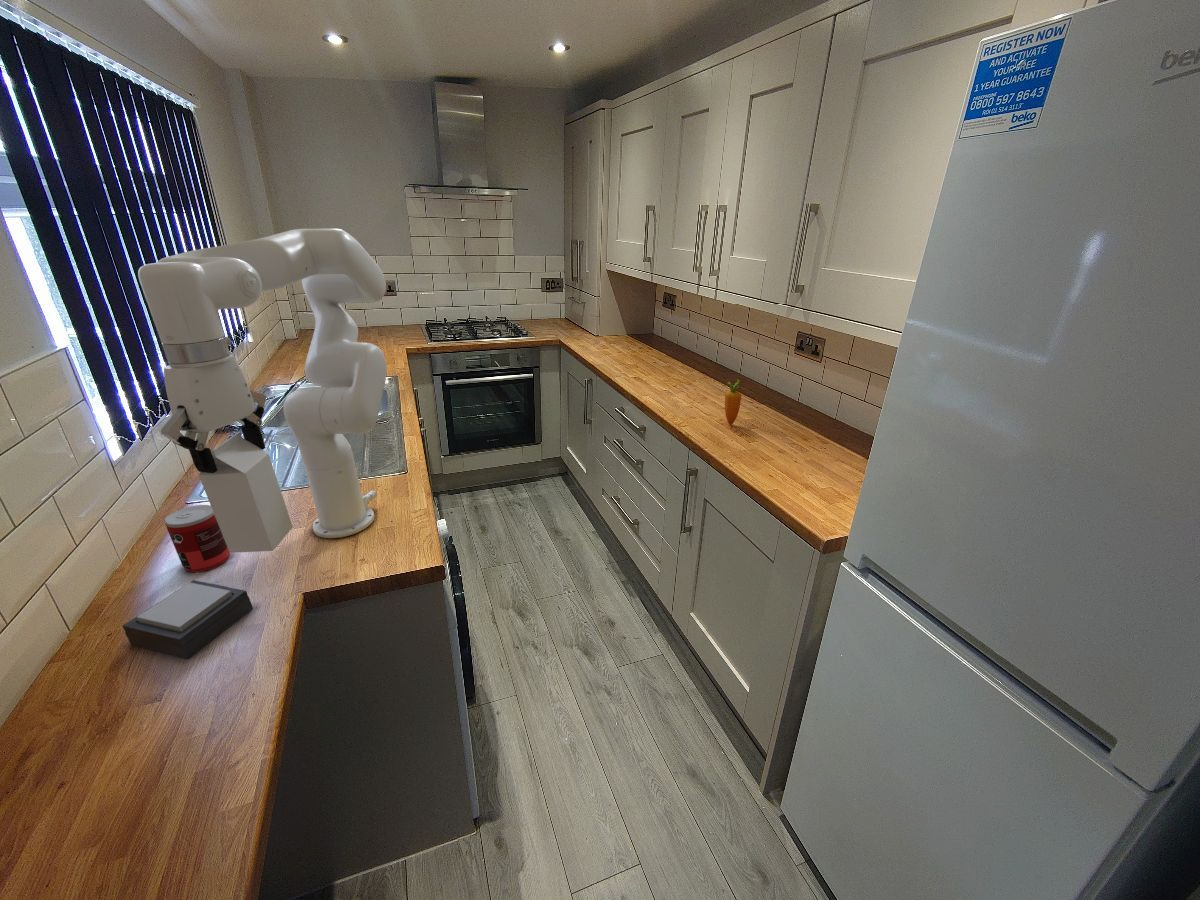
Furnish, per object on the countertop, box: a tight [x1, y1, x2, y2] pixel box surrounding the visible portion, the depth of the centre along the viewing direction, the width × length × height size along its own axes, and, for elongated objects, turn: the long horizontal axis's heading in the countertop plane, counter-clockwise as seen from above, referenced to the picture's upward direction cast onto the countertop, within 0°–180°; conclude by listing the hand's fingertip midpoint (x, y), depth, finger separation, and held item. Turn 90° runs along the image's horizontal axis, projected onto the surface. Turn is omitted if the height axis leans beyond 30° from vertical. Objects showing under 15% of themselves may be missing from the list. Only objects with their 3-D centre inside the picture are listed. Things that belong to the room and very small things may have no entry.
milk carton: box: [198, 431, 293, 554], centre depth 86 cm, size 7×7×19 cm
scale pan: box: [136, 582, 232, 633], centre depth 87 cm, size 9×9×2 cm
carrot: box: [724, 379, 742, 426], centre depth 167 cm, size 5×5×15 cm
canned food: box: [164, 504, 231, 573], centre depth 103 cm, size 8×8×11 cm
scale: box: [122, 579, 254, 660], centre depth 87 cm, size 12×12×4 cm
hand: (233, 459), depth 84 cm, fingers closed on milk carton, 8 cm apart
